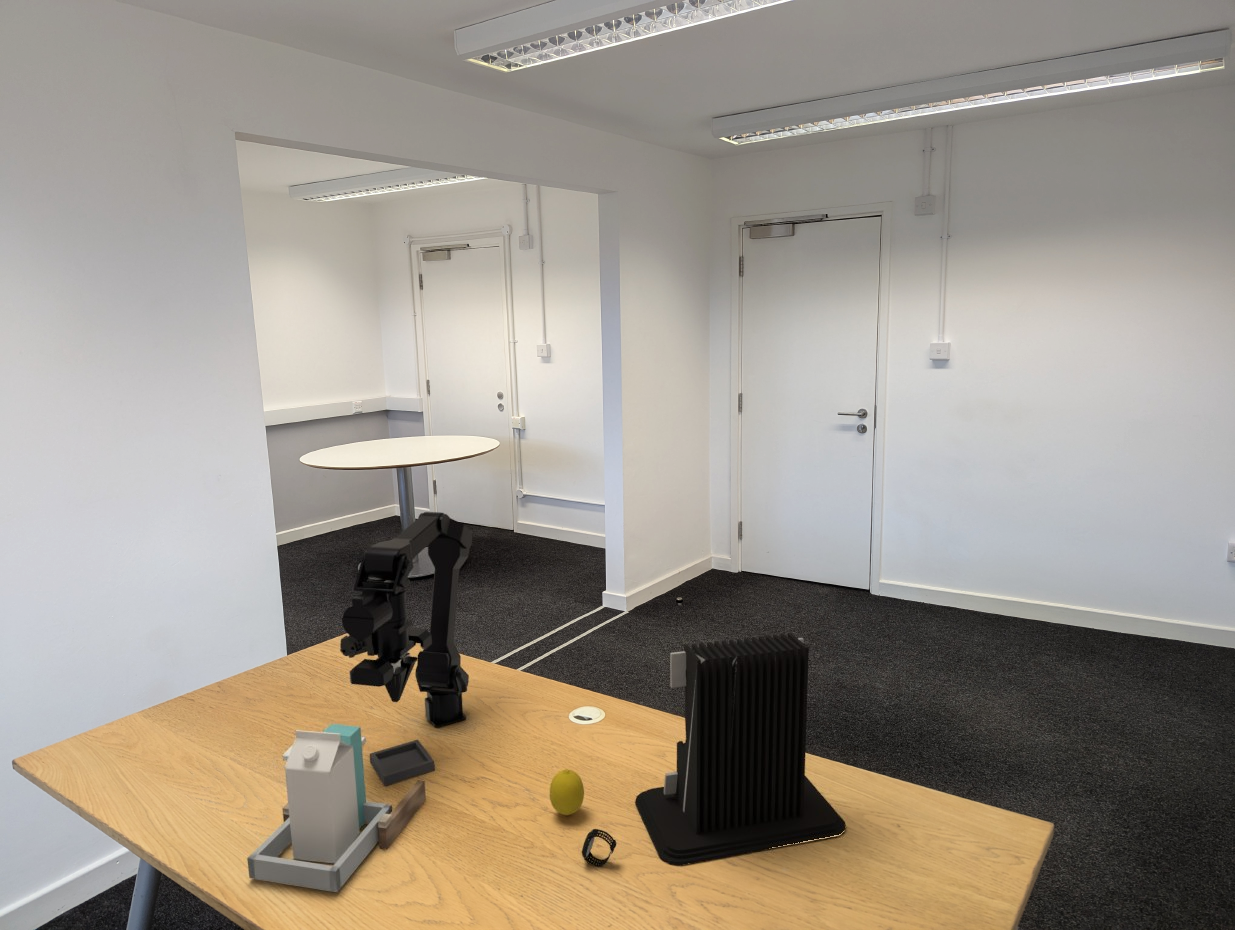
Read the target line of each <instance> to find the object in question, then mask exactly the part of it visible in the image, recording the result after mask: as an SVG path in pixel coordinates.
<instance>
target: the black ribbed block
mask: <svg viewBox="0 0 1235 930" xmlns="http://www.w3.org/2000/svg"><path fill="white" fill-rule="evenodd" d="M750 638H751V640H750ZM750 638H748V637H744V638H743V640H742V639H741V638H737V639H736V641H735V640H734V639H729V641H727V640H723V639H722V640H721V643H720V642H719V641H717V640H716V641H714V642H712V641H707V642H706V645H705V643H704V642H699V646H698V645H697V644H696V643H691V647H690V646H689V645H688V644H683V651H675V652H670V654H669V655H670V656H669V657H670V660H669V661H670V662H669V663H670V665H669V667H670V670H669V671H670V672H669V673H670V674H669V675H670V676H669V677H670V681H669V683H670V685H669V687H670V689H673V688H682V687H684V721H685V722H684V723H685V728H684V729H685V742H684V741H683V740H679V741H678V742H676V771H672V772H665V774H664V783H663V786H659V787H654V788H653V787H652V788H648V789H646V790H644V791H641V792H640V793H639V794H638V795H636V797H635V800H634V805H635V807H636V810H637V811H638V815H639V816H640V819H641V820H642V822H643V825H644V827H645V829H646V832H647V833H648V836H649V838H650V841H651V843H652V844H653V847H654V849H655V852H656V853H657V855H658V858H659V859H660V860H661V861H663V862H665V863H667V864H668V865H672V864H673V865H674V866H680V865H681V866H684V865H683V864H686V865H689V864H688V863H692V864H696V863H695V862H697V863H702V862H701V861H703V862H707V861H706V860H708V861H713V860H719V859H724V858H730V857H735V856H736V857H737V856H740V855H746V854H752V852H753V853H758V852H762V851H761V850H764V851H766V850H765V849H769V848H772V847H778V846H783V845H787V844H793V843H794V844H795V843H798V842H799V843H800V842H803V841H808V840H814V839H819V838H825V837H830V836H834V835H839V834H841V833H842V832H843V831H844V830H845V831H846V828H845V826H846V825H847V824H846V821H845V820H844V819H843V818H842V817H841V816H840V814H839V813H838V812H837V811H836V809H834V807H833V806H832V805H831V803H830V802H828V800H827V799H826V798H825V796H823V794H822V793H821V792H820V791H819V789H817V788H816V786H815V785H814V784H813V783H812V781H811V780H810V779H809V778H808V777H807V776H806V754H807V753H806V748H807V747H806V745H807V721H808V720H807V715H808V714H807V713H808V688H809V687H808V686H809V685H808V684H809V681H808V680H809V660H810V659H809V658H810V657H809V656H810V655H809V653H810V652H809V650H810V647H808V646H807V645H806V644H805V642H804V638H803V637H797V636H796V635H795V634H793V633H792V632H788V633H787V635H786V634H785V633H780V634H779V635H778V634H773V635H765V638H764V636H762V635H759V636H758V638H757V637H756V636H751V637H750ZM769 850H770V849H769ZM712 859H713V860H712ZM699 861H700V862H699Z"/></svg>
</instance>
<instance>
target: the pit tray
mask: <svg viewBox="0 0 1235 930" xmlns="http://www.w3.org/2000/svg"><path fill="white" fill-rule="evenodd" d="M369 761H370V762H369V763H370V765H371V766H372V768H373V770H374V771H375V773H376V775H377V777H378V778H379V780H380V781H381V783H382V784H383V786H384V787H387V786H389V785H392V784H396V783H399V782H402V781H406V780H409V779H412V778H416V777H418V776H423V775H425V774H428V773H431V772H434V771H436V768H435V767H436V766H435V760H434V759H433V758H432V756H431V755H430V753H429V752H428V751H427V749H426V748H425V747H424V746H423V745H422V743H421V741H420V740H419V739H414V740H412V741H408V742H404V743H401V744H399V745H393V746H391V747H388V748H383V749H380V750H377V751H373V752H371V753H370V752H369Z"/></svg>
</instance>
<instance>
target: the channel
mask: <svg viewBox="0 0 1235 930" xmlns="http://www.w3.org/2000/svg"><path fill="white" fill-rule="evenodd" d="M425 785H426V783H425V780H421V779H418V780H417V781H416V782H414V785H413V786H411V788H410V789H408V791H407V793H405V795H404V796H403V797H402V798H401V800H399V802H398V803H397V804H396V805H395V807H394V808H392V812H391V813H390V814H384V815H383V816H382V817H381V819H380V820H379V821H378V827H379V841H378V842H379V849H384V850H388V849H389V847H391V846H392V844H393V842H394V841H395V840H396V839H397V837H398V836H399V835H400V833H402V831H403V830H404V828H405V827H406V826H407V824H409V822H410V821H411V819H412V818H413V817H414V816H415V815H416V813H417V812H418V811H419V810H420V808H421V806H422V805H424V803H425V801H426V800H427V798H426V786H425ZM282 816H283V817H282V819H283V823H284V822H285V821H286V820H287V819H288V818H289V807H288V802H287V803H286V804H285V805H284V806H283V807H282Z"/></svg>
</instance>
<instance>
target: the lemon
mask: <svg viewBox="0 0 1235 930" xmlns="http://www.w3.org/2000/svg"><path fill="white" fill-rule="evenodd" d="M584 797H585V788H584V783H583V781H582V777H581V776H580V775H579V774H578V773H577V772H576V771H574V770H572V769H567V768H566V769H563V770H560V771H558V772H557V773H555V775H554V776H553V777H552V779H551V782H550V787H549V799H550V803H551V805H552V808H553V809H554V810H555V811H556V812H558V813H559V814H561V815H564V816H566V817H567V816H570V815H572V814H575V813H576V812H577V811H579V810H580V808H581V806H582V805H583V802H584Z"/></svg>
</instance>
